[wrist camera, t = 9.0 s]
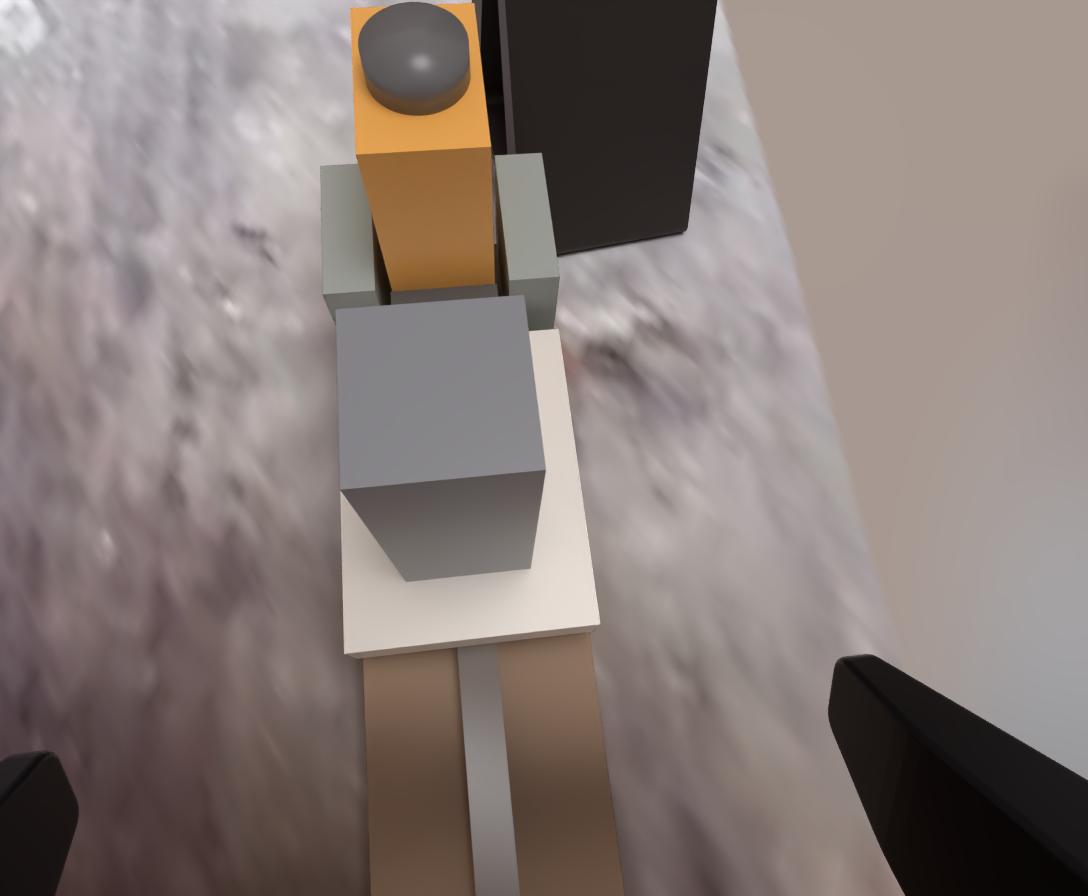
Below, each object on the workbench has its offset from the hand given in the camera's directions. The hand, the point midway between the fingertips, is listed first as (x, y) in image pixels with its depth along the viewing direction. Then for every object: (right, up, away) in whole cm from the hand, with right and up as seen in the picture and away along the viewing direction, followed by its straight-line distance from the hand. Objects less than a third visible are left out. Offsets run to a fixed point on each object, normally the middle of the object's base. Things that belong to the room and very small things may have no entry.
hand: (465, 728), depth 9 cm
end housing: (-2, +8, +15) cm, 17 cm away
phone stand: (+2, +14, +19) cm, 24 cm away
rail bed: (-1, -1, +13) cm, 13 cm away
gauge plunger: (-2, +8, +14) cm, 17 cm away
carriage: (-1, +2, +11) cm, 12 cm away
